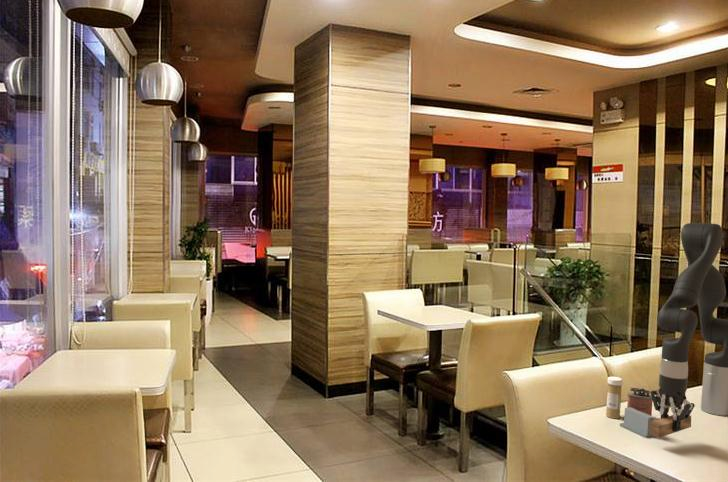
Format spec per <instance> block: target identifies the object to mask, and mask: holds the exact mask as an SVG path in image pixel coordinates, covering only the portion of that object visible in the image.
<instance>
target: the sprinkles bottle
mask: <svg viewBox="0 0 728 482" xmlns="http://www.w3.org/2000/svg"><path fill="white" fill-rule="evenodd" d="M622 386H623V378H621V377H618V376H608V377H607V394H606V395H607V396H606V412H605V416H606V417H608V418H610V419H611V418H612V419H615V420H616V419H620V417H621V405H622Z"/></svg>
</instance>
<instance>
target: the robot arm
mask: <svg viewBox="0 0 728 482" xmlns="http://www.w3.org/2000/svg"><path fill="white" fill-rule="evenodd" d="M680 240H681V245H682V246H681V247H682V248H683V251H684V254H685V257H686V260H687V264H688V266H686V268H685V269H684V270H682V272H681V273H679V275H678V276H677V278H676V280H675V284H674V286H673V290H672V292H671V295H670V296H669V298H668V299H667V300H666V302H665V303H664V304H663V305H662V306H661V308H660V310H659V311H658V313H657V317H656V321H657V322H656V323H657V326H658V327H659V328H660V329H661V330H664V331H670V332H675V333H680V336H679V337H670V338H665V339H663V341H662V345H661V358H660V362H659V364H660V365H659V373H658V374H659V377H658V387H659V388H658V389H655V390H654V389H653V390H650V395H651V396H652V400H653V402H652V405H653V407H654V410H655V411H658V412H659V414H660V418H659V419H662V418H666V417H669V416H670V415H669V411H670V409H671V413H672V415H673V426H672V431H674V432H675V433H678V432H680V431H679V430H680V428H681V420H685V419H688V417H689V415H690V416H691V413H692V412H693V410H694V408H695V406H696V405H695V403H693V402H689V400H687V396H686V392H687V390H688V380H689V378H688V376H689V363H688V362H689V349H690V344H691V341H692V338H693V335H694V333H695V331H696V328H697V327H698V326H697V325H698V321H699V320H700V321H699V323H700V333H701V337H702V339H703V341H705V342H706V343H709V344H712V345H718V346H723V349H722V350H720V351H714V352H708V353H706V354H705V355H704V360H703V361H704V363H703V372H702V373H703V374H702V388H701V397H700V398H701V400H700V409H701V410H702V411H703V412H706V413H708V414H711V415H716V416H722V417H723V416H728V319H725V318H717V317H715V316H714V312H715V310H717V308H718V307H719V306H720V305H721V304H722V303H723V302H724V300H725V298H726V296H727V290H726V289H727V288H726V283H725V278H724V276H723V275H722V273H721V272H720V271H719V270H718V269H717V267H716V266H714V265H713V264H714V262H715V260H716V257H717V256H718V253H720V252H719V251H720V249H721V247H722V246H723V245H722V244H723V240H724V231H723V229H722V227H721V225H720V224H718V223H713V222H712V223H709V222H708V223H706V222H689V223H686V224H684V225H683V226H682V227H681V231H680ZM696 304H697V307H698V315H699V320H698V315H697V314H696V312H694V311H693V310H690V309H688V308H693V307H695V306H696ZM677 431H678V432H677Z"/></svg>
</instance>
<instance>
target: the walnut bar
mask: <svg viewBox="0 0 728 482" xmlns="http://www.w3.org/2000/svg"><path fill="white" fill-rule="evenodd" d="M672 426H673V414H671V415H669V417H666V418H662V419H660V418H659V419H656V420H654V421H653V422H650V434H651V435H653V436H652V437H656V438H658V439H660V438H663V437H666V436H669V435H671V434H675V433H678V432H680V431H683V430H687V429H689V428H691V427H692V415H691V414H690V415H689V417H688V419H685V420H681V428H680V430H679V431H677V432H674V431H672Z"/></svg>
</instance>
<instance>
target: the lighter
mask: <svg viewBox="0 0 728 482" xmlns="http://www.w3.org/2000/svg"><path fill="white" fill-rule="evenodd" d="M629 391H630V392H628V393H627V406H626V408H629V407H631V408H633V409H636V410H638V411H640V412H643V413H645V414H648V415H650V416H652V417H653V414H652V413H653V411H652V410H653V400H652V396H651V390H650V389H647V388H646V389H645V387H642V386H640V388H638V387H635V386H630V390H629Z"/></svg>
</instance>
